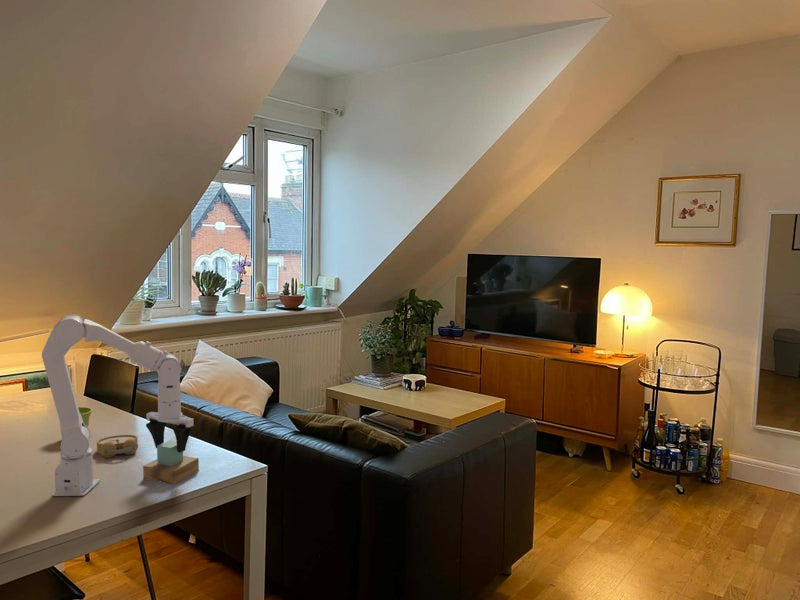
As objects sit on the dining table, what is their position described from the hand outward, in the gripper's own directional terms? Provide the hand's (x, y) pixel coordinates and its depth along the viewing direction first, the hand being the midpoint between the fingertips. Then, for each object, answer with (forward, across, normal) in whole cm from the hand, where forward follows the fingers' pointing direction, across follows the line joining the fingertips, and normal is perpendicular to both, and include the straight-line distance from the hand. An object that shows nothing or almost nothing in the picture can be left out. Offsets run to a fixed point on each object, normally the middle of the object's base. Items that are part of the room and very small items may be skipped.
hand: (170, 449), depth 166 cm
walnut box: (+8, 0, 0) cm, 8 cm away
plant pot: (+7, +49, -11) cm, 51 cm away
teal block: (+4, 0, 0) cm, 4 cm away
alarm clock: (+8, +27, -7) cm, 29 cm away
